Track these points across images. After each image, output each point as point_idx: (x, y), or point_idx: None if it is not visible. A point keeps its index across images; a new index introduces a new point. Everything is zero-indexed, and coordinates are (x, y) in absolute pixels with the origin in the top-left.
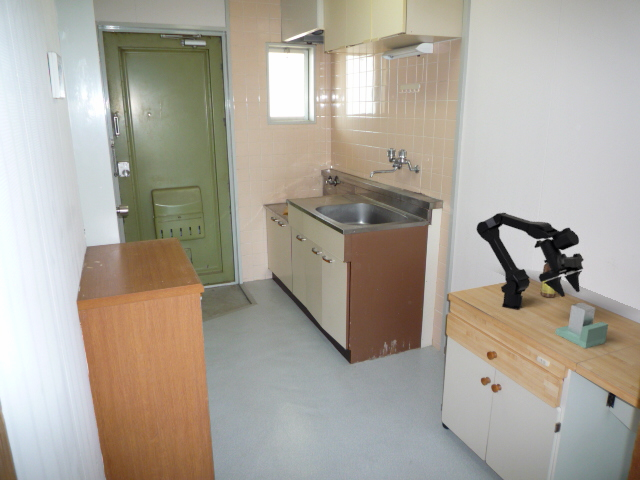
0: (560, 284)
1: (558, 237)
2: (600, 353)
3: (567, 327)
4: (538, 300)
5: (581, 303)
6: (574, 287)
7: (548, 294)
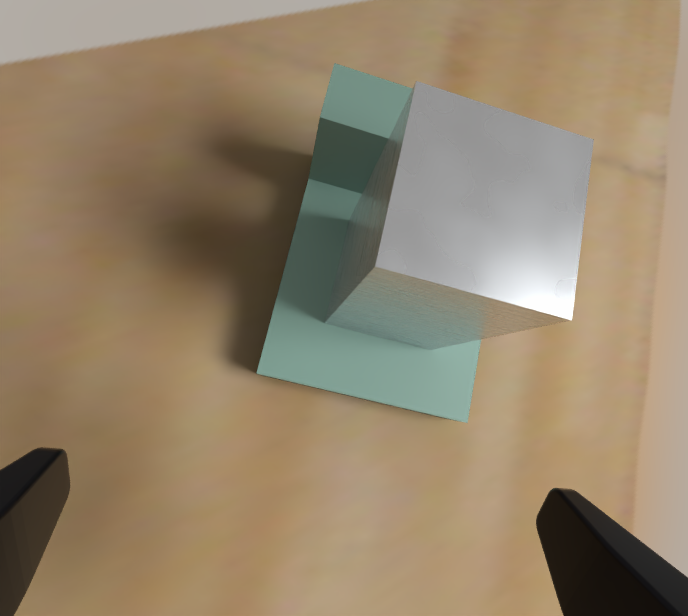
0: None
1: None
2: None
3: (378, 377)
4: None
5: (419, 254)
6: (2, 603)
7: None
